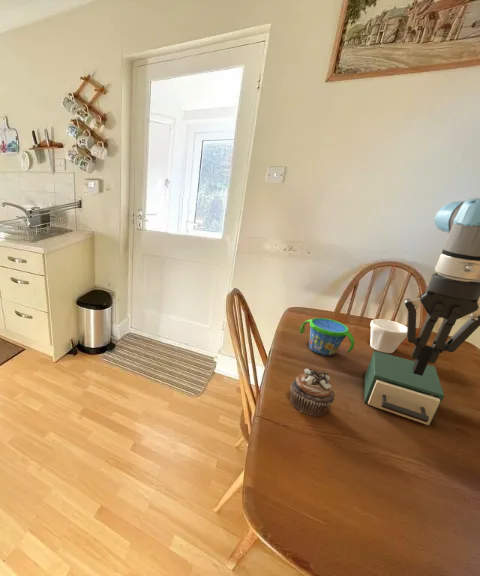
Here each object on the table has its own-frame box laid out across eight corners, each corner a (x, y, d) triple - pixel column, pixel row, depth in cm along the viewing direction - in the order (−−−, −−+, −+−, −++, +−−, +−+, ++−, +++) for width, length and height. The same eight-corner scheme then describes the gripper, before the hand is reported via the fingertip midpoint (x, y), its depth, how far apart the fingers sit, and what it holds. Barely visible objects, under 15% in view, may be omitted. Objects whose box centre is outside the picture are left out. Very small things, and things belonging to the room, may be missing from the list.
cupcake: (284, 390, 89) (291, 360, 86) (324, 398, 86) (333, 367, 82) (290, 413, 81) (298, 381, 77) (334, 423, 78) (345, 390, 74)
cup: (404, 350, 107) (414, 327, 104) (395, 360, 102) (405, 335, 99) (368, 338, 115) (376, 316, 112) (358, 347, 110) (366, 323, 106)
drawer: (431, 438, 72) (444, 413, 69) (368, 415, 79) (377, 392, 76) (421, 395, 85) (432, 373, 83) (368, 379, 92) (375, 358, 89)
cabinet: (429, 425, 77) (444, 395, 73) (364, 402, 84) (374, 374, 81) (422, 393, 87) (435, 366, 84) (364, 376, 95) (374, 350, 91)
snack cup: (355, 358, 103) (365, 331, 100) (336, 366, 99) (345, 339, 96) (308, 337, 117) (315, 312, 113) (290, 343, 112) (296, 318, 109)
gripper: (417, 274, 65) (380, 368, 74) (514, 288, 58) (461, 392, 66) (413, 266, 71) (380, 354, 79) (502, 278, 63) (454, 374, 72)
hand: (417, 371), depth 73 cm, fingers closed
